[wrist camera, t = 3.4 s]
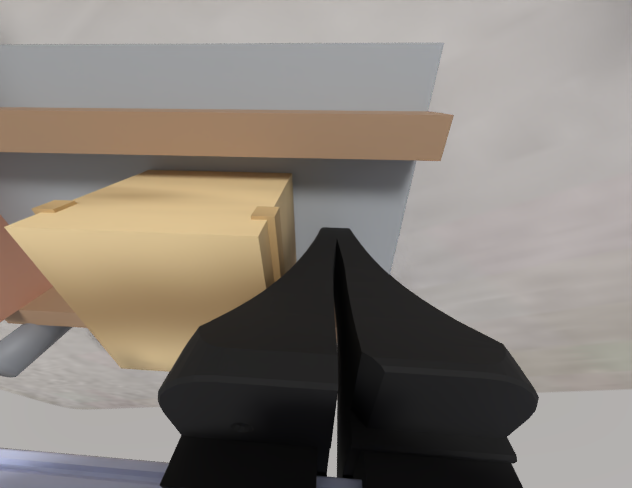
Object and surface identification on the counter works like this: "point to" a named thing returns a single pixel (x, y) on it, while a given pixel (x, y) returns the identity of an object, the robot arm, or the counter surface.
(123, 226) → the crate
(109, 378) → the counter surface
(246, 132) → the bay
